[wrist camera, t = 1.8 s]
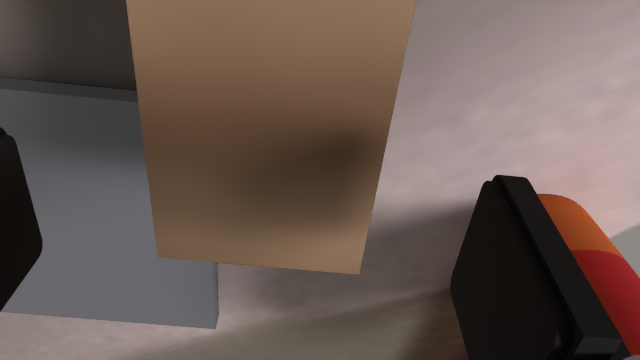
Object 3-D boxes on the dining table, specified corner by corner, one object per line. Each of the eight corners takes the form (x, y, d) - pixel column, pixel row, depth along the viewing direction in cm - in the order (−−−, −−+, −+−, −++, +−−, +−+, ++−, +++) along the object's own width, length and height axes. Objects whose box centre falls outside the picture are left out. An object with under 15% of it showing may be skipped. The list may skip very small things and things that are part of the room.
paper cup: (467, 301, 28) (560, 627, 17) (442, 198, 24) (542, 539, 13) (615, 272, 27) (830, 609, 15) (616, 156, 22) (911, 500, 11)
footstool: (206, -158, 16) (108, -144, 9) (392, -135, 16) (437, -105, 9) (213, 119, 22) (157, 257, 15) (350, 132, 22) (358, 274, 15)
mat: (-80, 69, 21) (-97, 79, 20) (212, 98, 21) (208, 109, 20) (9, 297, 29) (-1, 311, 28) (218, 314, 29) (215, 329, 28)
